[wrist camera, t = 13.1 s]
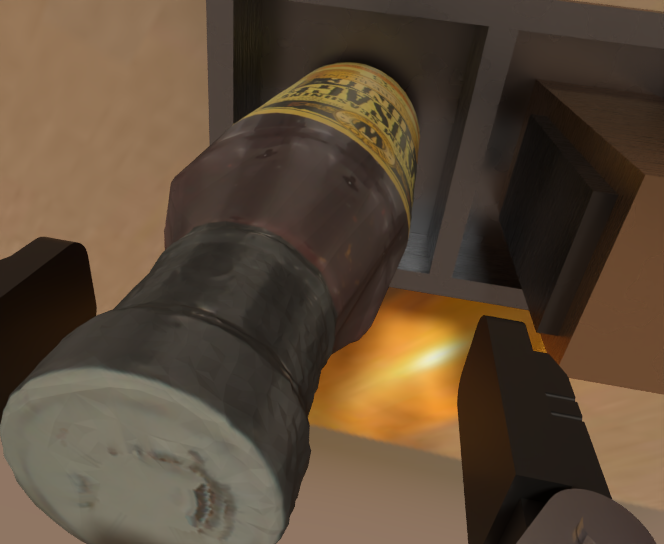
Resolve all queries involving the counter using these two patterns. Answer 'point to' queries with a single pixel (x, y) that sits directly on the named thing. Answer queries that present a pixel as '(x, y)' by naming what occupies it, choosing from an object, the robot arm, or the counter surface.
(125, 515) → the sauce bottle
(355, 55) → the two-compartment tray
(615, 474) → the counter surface
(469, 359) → the robot arm
